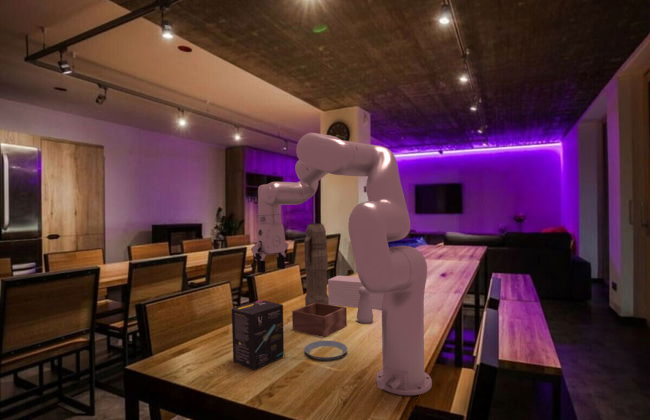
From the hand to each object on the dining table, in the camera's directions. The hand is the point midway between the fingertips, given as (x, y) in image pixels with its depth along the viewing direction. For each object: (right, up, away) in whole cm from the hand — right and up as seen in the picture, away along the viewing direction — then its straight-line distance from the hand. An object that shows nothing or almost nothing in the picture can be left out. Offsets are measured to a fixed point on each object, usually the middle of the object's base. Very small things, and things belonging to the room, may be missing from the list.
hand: (271, 270), depth 123 cm
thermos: (+15, -20, +15) cm, 29 cm away
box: (+17, -20, -3) cm, 26 cm away
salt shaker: (+32, -20, +3) cm, 38 cm away
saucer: (+19, -20, -23) cm, 36 cm away
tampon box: (0, -20, -25) cm, 32 cm away
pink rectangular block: (+36, -20, +28) cm, 50 cm away
